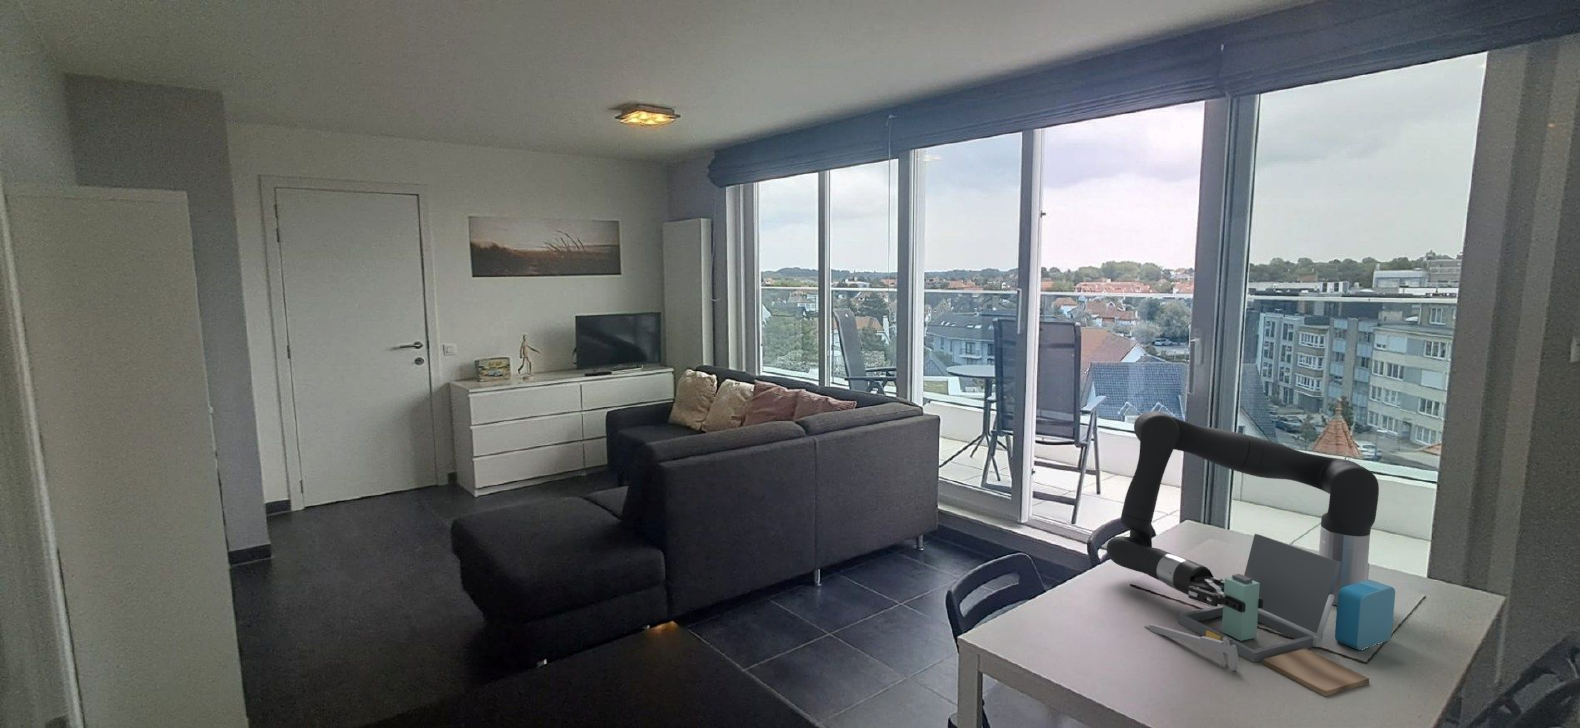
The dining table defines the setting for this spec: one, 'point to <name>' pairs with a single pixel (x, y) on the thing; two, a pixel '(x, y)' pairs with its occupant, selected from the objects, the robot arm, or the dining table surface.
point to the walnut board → (1315, 672)
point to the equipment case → (1281, 597)
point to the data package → (1364, 614)
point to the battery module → (1245, 622)
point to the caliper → (1203, 644)
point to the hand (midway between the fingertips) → (1252, 606)
